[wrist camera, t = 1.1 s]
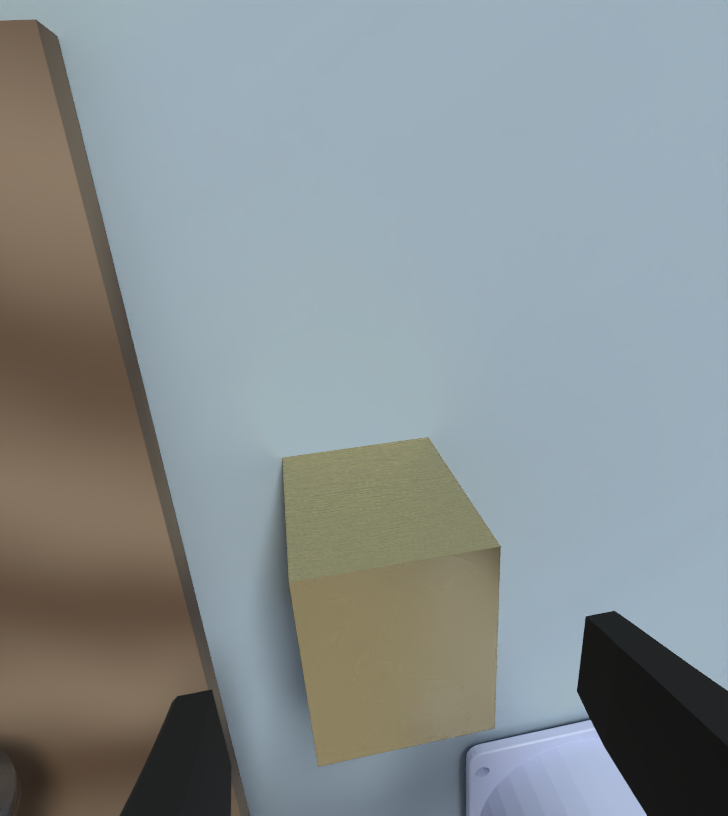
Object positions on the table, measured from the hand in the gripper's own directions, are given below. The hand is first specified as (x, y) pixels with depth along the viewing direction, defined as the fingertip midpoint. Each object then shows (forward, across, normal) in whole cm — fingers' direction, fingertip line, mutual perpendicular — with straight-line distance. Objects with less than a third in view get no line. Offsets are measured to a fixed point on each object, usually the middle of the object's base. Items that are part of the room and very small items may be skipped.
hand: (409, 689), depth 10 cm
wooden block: (+6, 0, 0) cm, 6 cm away
